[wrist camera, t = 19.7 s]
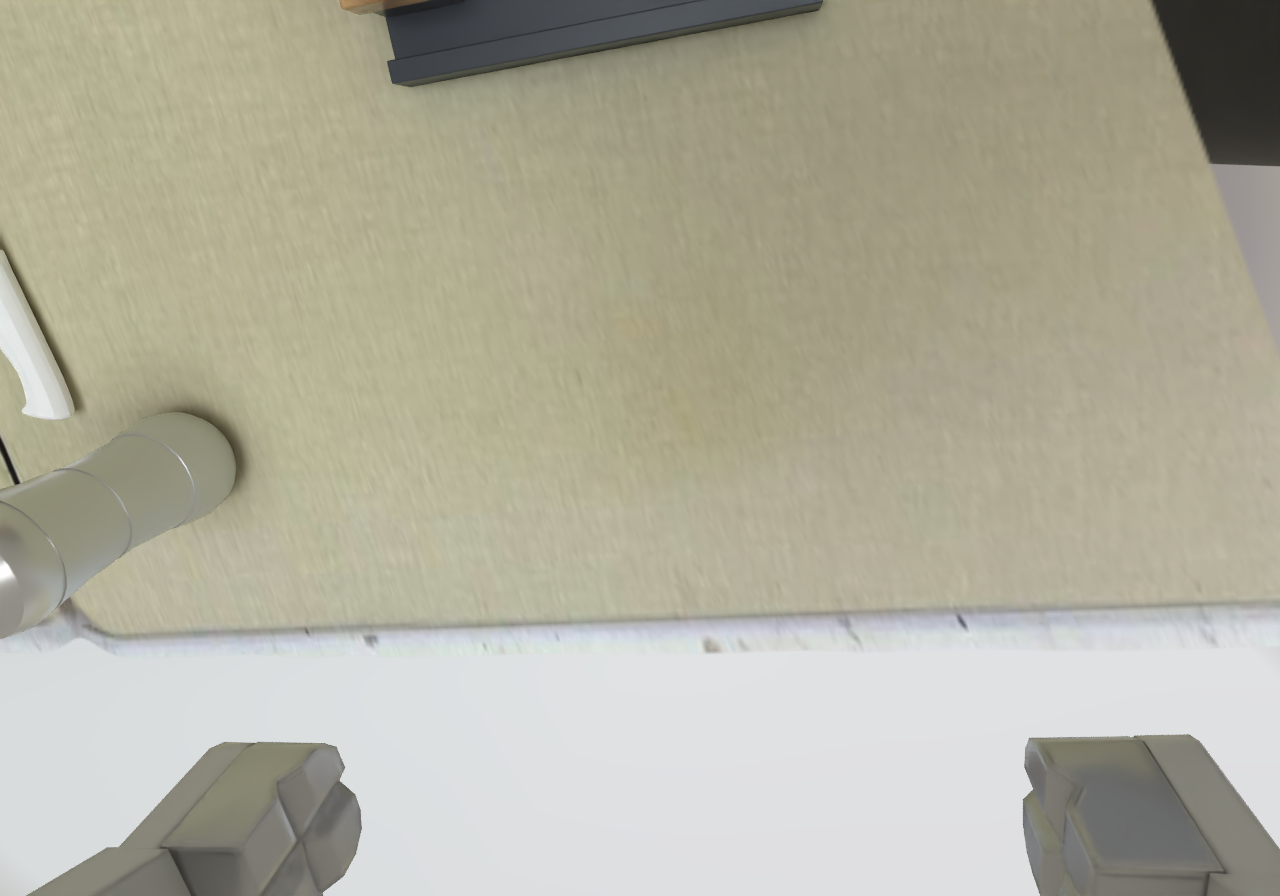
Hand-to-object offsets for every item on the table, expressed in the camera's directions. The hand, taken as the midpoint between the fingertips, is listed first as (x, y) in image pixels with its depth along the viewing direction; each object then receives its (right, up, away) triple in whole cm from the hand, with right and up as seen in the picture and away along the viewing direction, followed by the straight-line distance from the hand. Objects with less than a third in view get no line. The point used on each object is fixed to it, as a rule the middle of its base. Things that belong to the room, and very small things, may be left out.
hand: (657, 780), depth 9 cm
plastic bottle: (-28, +4, +39) cm, 48 cm away
